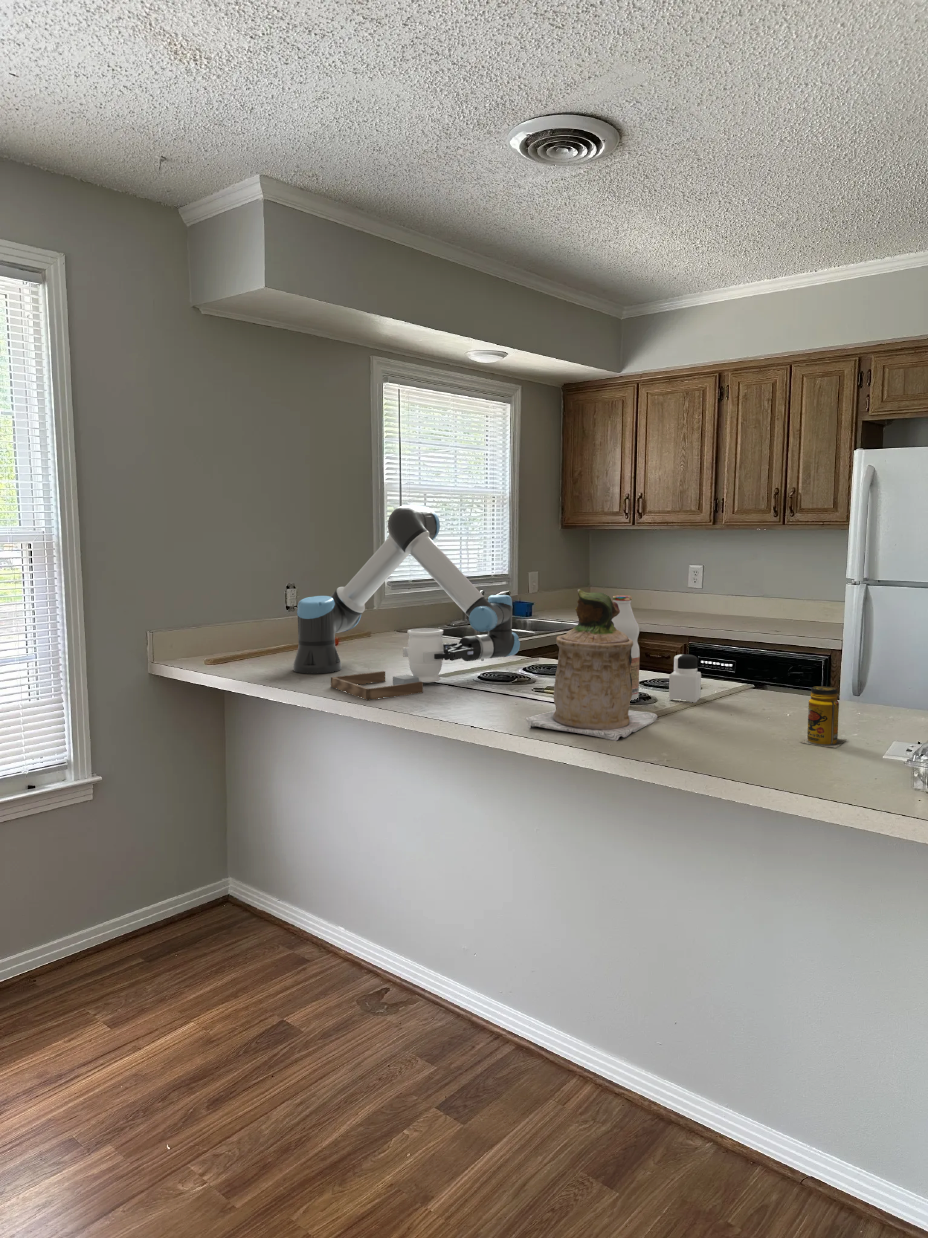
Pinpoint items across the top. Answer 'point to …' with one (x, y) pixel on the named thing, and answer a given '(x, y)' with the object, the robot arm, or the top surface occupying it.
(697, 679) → the medicine bottle
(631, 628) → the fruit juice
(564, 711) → the cookie jar
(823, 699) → the condiment
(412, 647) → the jar
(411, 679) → the tile
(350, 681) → the tray
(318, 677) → the top surface
